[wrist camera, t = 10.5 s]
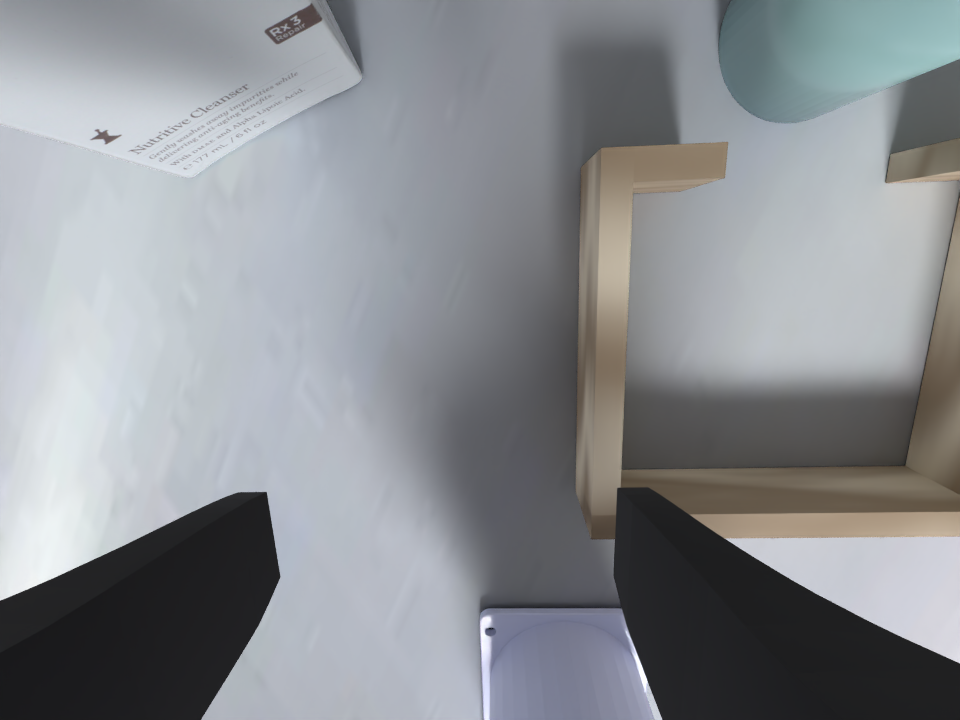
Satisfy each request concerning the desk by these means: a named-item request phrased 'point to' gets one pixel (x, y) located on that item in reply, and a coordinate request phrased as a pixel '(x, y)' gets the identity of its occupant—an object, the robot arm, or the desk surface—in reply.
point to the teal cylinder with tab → (830, 51)
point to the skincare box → (166, 73)
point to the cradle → (753, 491)
